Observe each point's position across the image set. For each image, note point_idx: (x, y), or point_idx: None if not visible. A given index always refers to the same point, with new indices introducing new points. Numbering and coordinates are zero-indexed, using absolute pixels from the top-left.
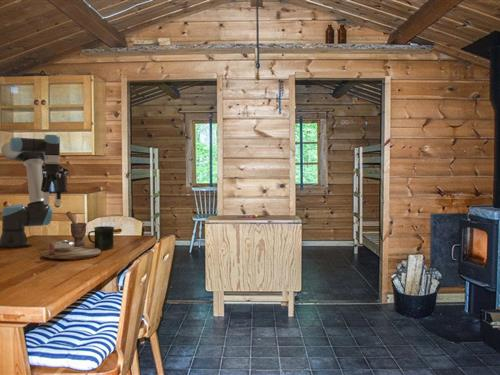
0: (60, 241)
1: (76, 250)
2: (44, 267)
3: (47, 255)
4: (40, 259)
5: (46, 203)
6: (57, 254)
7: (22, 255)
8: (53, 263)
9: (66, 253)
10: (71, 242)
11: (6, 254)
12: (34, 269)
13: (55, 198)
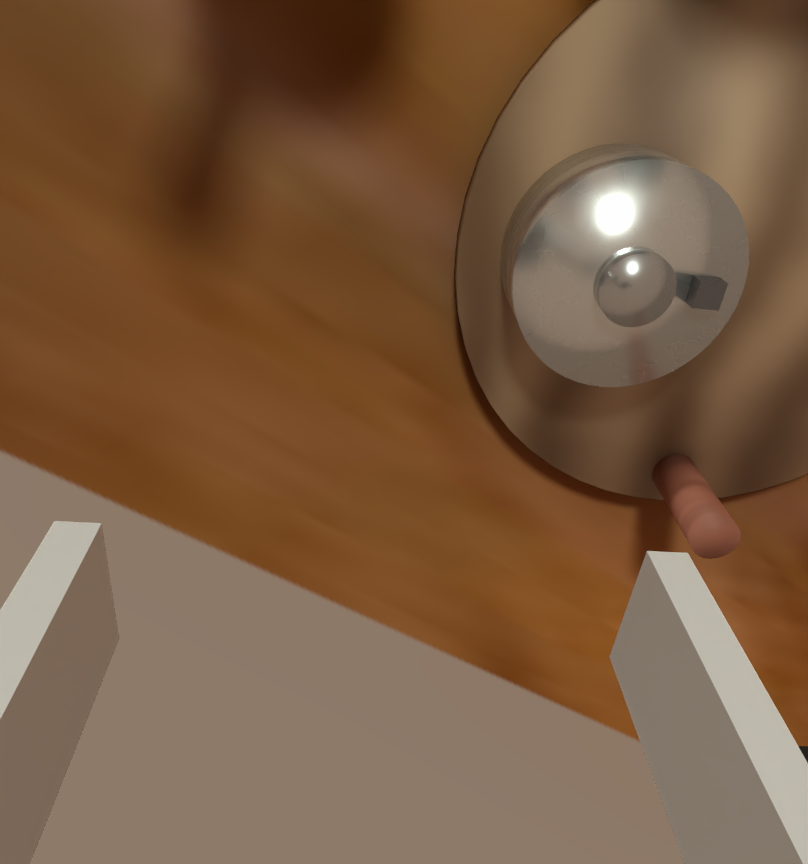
0: (524, 250)
1: (744, 197)
2: (805, 620)
3: (653, 497)
4: (590, 501)
5: (106, 614)
6: (702, 433)
7: (326, 481)
8: (783, 533)
9: (749, 364)
10: (703, 226)
11: (180, 519)
12: (782, 669)
13: (701, 852)
